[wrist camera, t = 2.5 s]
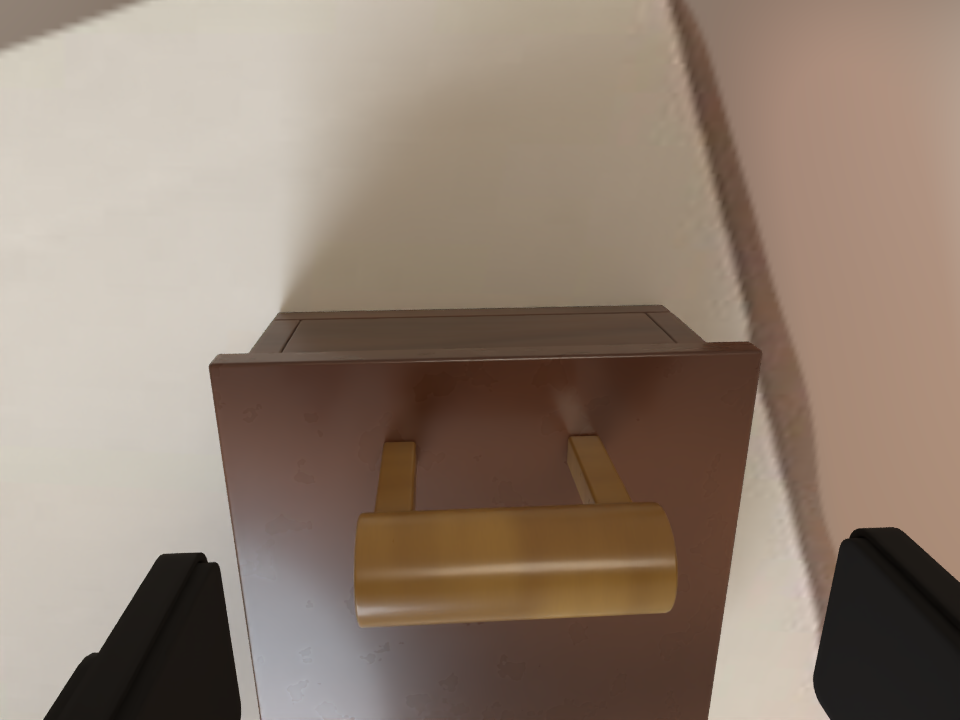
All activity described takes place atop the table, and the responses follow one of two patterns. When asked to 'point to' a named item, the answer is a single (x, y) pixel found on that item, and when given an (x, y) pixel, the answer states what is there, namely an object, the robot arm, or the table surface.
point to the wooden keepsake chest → (472, 329)
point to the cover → (486, 527)
